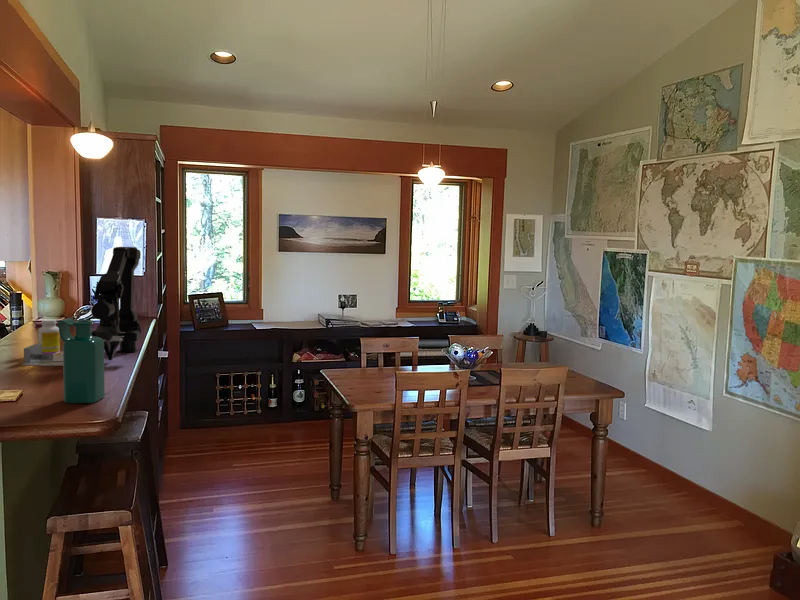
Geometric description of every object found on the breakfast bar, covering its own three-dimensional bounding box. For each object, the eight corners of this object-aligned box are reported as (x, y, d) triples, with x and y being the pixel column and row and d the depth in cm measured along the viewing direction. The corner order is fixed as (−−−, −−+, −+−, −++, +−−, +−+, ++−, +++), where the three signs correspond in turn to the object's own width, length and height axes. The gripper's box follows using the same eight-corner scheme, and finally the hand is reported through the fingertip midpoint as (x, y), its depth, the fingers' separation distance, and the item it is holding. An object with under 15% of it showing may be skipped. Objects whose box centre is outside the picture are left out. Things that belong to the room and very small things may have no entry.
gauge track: (36, 359, 216) (36, 343, 216) (79, 359, 218) (78, 344, 218) (23, 365, 206) (22, 348, 206) (68, 365, 208) (67, 349, 208)
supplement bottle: (63, 355, 224) (63, 320, 223) (44, 358, 219) (44, 322, 217) (54, 353, 228) (53, 318, 227) (35, 355, 222) (34, 320, 221)
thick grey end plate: (59, 358, 215) (59, 349, 215) (99, 358, 217) (99, 349, 217) (50, 363, 208) (49, 353, 207) (91, 363, 209) (91, 354, 209)
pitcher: (107, 396, 173) (106, 318, 171) (93, 404, 165) (92, 322, 162) (71, 395, 173) (70, 317, 170) (55, 403, 164) (54, 321, 162)
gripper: (72, 318, 204) (73, 364, 205) (132, 319, 207) (132, 365, 208) (84, 313, 215) (84, 358, 216) (140, 314, 218) (141, 358, 219)
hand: (110, 360), depth 215 cm, fingers closed
